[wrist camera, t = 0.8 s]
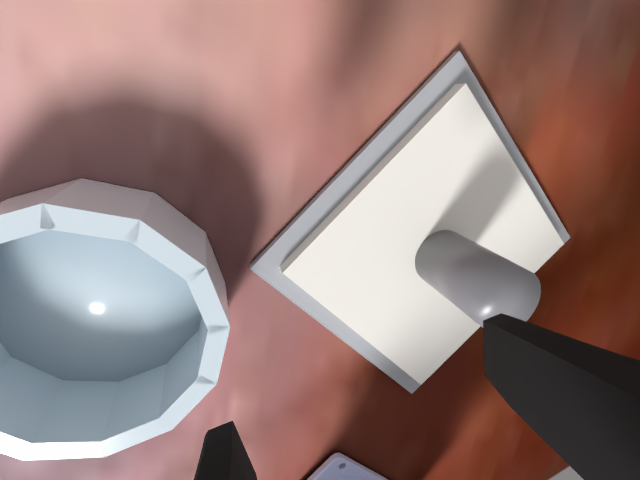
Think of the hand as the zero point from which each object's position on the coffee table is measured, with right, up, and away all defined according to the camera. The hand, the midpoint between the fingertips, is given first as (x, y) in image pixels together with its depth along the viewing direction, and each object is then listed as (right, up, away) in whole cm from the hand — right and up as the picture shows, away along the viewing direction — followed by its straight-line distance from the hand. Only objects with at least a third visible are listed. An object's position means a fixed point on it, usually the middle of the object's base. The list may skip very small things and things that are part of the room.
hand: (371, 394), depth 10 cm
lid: (+5, +4, +10) cm, 12 cm away
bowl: (-11, +2, +7) cm, 13 cm away
